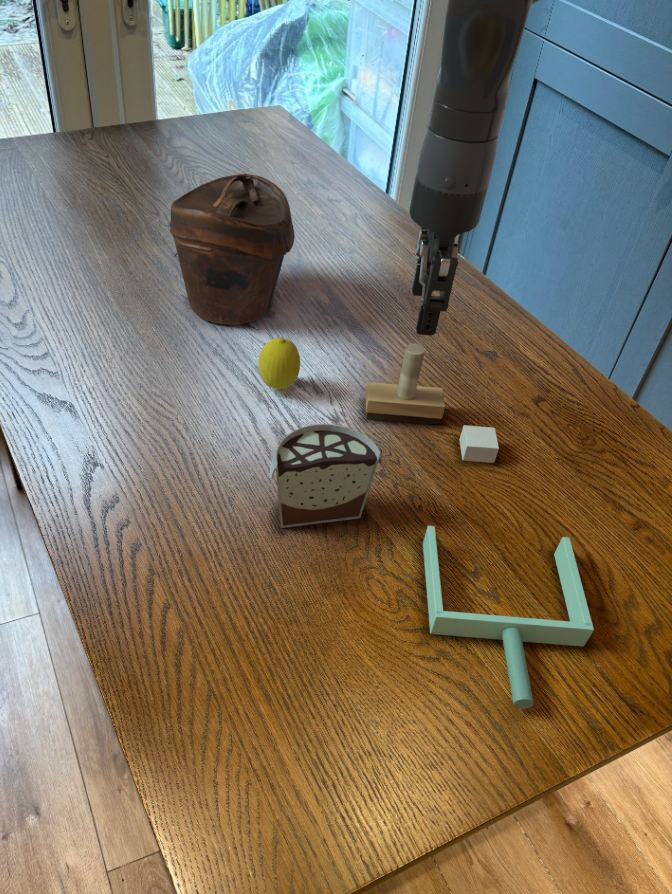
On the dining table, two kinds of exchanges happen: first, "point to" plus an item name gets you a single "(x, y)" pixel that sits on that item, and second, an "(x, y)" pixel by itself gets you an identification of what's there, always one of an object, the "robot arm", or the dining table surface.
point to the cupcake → (323, 474)
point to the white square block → (478, 444)
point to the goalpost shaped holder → (512, 618)
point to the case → (232, 246)
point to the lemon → (279, 363)
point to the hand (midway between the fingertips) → (422, 313)
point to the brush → (406, 394)
